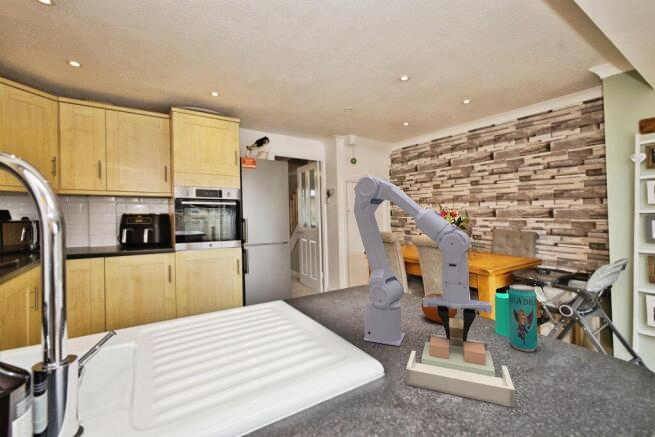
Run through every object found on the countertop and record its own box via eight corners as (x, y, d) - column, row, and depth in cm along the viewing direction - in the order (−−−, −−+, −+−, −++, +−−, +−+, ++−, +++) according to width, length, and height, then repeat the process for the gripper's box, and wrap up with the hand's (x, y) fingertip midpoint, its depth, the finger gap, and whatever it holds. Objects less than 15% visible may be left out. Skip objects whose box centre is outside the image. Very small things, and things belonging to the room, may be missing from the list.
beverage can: (511, 350, 70) (510, 288, 70) (507, 341, 75) (506, 283, 75) (540, 355, 67) (538, 290, 67) (534, 345, 72) (533, 285, 72)
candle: (524, 338, 76) (524, 293, 76) (500, 336, 78) (499, 292, 78) (514, 329, 82) (514, 287, 82) (491, 328, 83) (491, 287, 84)
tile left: (429, 356, 64) (429, 344, 64) (431, 346, 69) (431, 336, 69) (448, 359, 62) (448, 347, 62) (449, 349, 67) (449, 338, 67)
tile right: (464, 362, 61) (464, 350, 61) (463, 352, 66) (463, 341, 66) (485, 365, 60) (485, 353, 60) (483, 355, 64) (483, 343, 64)
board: (421, 365, 63) (421, 358, 63) (425, 347, 72) (425, 341, 72) (495, 379, 57) (495, 371, 57) (490, 358, 66) (489, 351, 66)
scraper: (428, 348, 72) (427, 326, 72) (430, 335, 79) (430, 315, 79) (487, 357, 66) (487, 333, 66) (484, 343, 74) (483, 322, 74)
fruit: (464, 325, 86) (464, 298, 86) (432, 327, 85) (431, 300, 85) (444, 313, 97) (444, 290, 97) (415, 315, 95) (415, 291, 95)
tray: (406, 384, 56) (405, 368, 56) (412, 364, 64) (412, 350, 64) (515, 407, 49) (514, 390, 49) (506, 381, 56) (506, 366, 56)
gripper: (421, 283, 67) (422, 341, 67) (493, 288, 61) (494, 352, 61) (424, 277, 73) (425, 330, 73) (489, 281, 67) (490, 339, 67)
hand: (456, 339), depth 67 cm, fingers open, 3 cm apart
